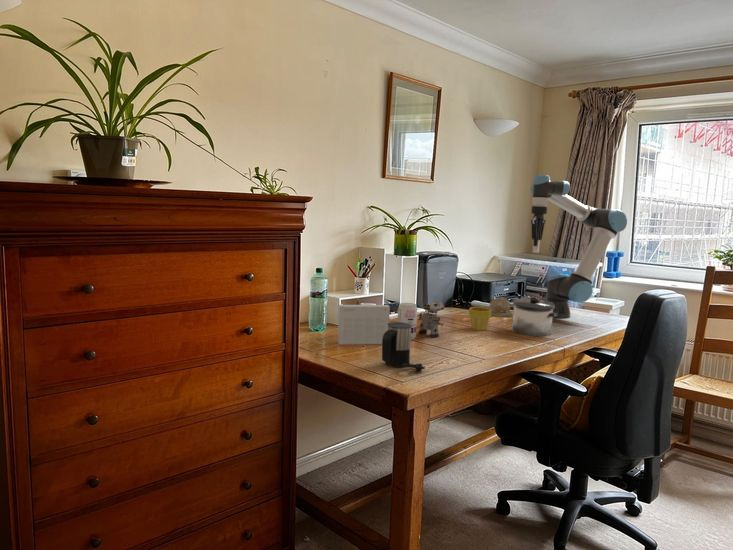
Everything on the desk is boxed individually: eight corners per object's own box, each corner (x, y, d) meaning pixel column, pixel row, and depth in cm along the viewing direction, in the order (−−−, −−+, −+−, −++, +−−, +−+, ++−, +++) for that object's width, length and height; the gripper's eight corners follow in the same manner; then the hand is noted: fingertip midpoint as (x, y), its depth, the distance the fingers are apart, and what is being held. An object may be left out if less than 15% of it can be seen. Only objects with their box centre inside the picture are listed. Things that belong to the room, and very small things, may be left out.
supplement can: (405, 334, 249) (407, 301, 247) (419, 338, 243) (421, 304, 241) (392, 337, 243) (394, 303, 241) (407, 341, 237) (408, 306, 235)
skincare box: (386, 341, 236) (388, 304, 234) (389, 344, 231) (390, 307, 229) (336, 341, 232) (338, 303, 230) (338, 344, 227) (340, 306, 225)
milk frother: (388, 359, 209) (390, 320, 207) (430, 364, 204) (432, 325, 202) (377, 369, 195) (379, 328, 193) (421, 375, 191) (424, 333, 189)
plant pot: (490, 332, 262) (491, 311, 261) (467, 330, 264) (469, 309, 263) (489, 327, 272) (491, 307, 271) (468, 325, 274) (469, 306, 273)
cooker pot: (519, 324, 282) (521, 301, 281) (562, 332, 268) (564, 307, 267) (501, 330, 267) (503, 305, 265) (546, 338, 253) (548, 313, 252)
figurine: (447, 335, 251) (450, 303, 249) (428, 338, 244) (430, 304, 242) (434, 331, 258) (436, 299, 256) (415, 334, 251) (417, 301, 250)
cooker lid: (523, 300, 279) (523, 292, 278) (560, 306, 266) (561, 298, 266) (506, 305, 264) (506, 296, 264) (544, 311, 252) (545, 302, 251)
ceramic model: (485, 315, 303) (486, 297, 302) (489, 311, 314) (490, 294, 312) (511, 318, 298) (512, 300, 296) (514, 315, 308) (516, 297, 307)
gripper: (537, 206, 289) (534, 251, 292) (527, 205, 279) (523, 252, 282) (551, 206, 284) (547, 252, 287) (541, 206, 274) (537, 253, 277)
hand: (535, 252), depth 285 cm, fingers closed
